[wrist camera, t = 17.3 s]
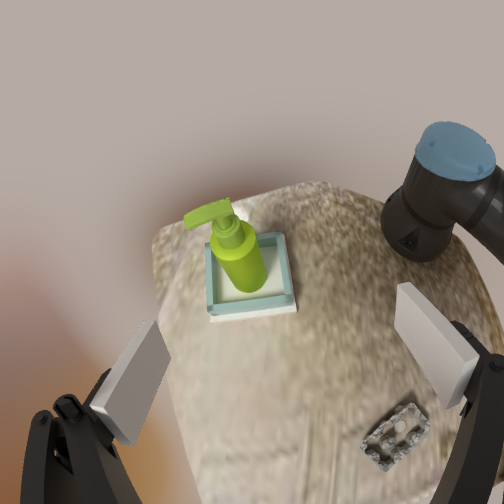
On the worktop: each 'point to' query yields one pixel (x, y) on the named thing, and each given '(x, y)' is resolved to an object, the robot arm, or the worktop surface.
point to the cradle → (257, 303)
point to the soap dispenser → (231, 244)
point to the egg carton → (390, 442)
